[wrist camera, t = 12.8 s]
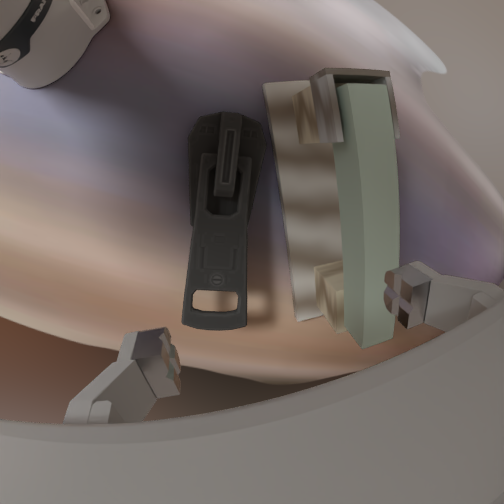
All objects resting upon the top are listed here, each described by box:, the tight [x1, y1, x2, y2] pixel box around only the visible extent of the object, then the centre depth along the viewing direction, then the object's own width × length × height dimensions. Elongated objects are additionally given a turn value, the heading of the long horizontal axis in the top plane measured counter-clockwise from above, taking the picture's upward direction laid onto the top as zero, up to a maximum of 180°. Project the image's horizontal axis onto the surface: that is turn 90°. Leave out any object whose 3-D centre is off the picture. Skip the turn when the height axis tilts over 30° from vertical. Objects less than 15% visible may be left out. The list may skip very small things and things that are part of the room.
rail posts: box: [262, 68, 400, 334], centre depth 32 cm, size 32×12×13 cm, turn 9°
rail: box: [332, 83, 400, 349], centre depth 27 cm, size 26×4×5 cm, turn 9°
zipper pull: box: [182, 112, 267, 330], centre depth 33 cm, size 9×7×25 cm
